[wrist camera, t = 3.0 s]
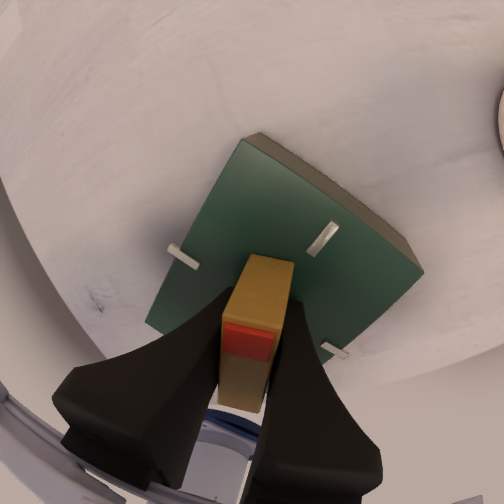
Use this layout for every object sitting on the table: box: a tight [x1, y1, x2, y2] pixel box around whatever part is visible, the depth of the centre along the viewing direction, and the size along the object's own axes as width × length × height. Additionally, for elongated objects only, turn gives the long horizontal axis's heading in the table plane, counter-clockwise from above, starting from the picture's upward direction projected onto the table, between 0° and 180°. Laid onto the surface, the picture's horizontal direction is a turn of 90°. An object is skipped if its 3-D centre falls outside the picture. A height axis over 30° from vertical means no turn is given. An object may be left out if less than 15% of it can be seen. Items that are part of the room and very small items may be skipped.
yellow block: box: [217, 254, 294, 413], centre depth 10 cm, size 5×2×4 cm, turn 173°
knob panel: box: [145, 133, 424, 393], centre depth 13 cm, size 10×9×3 cm
